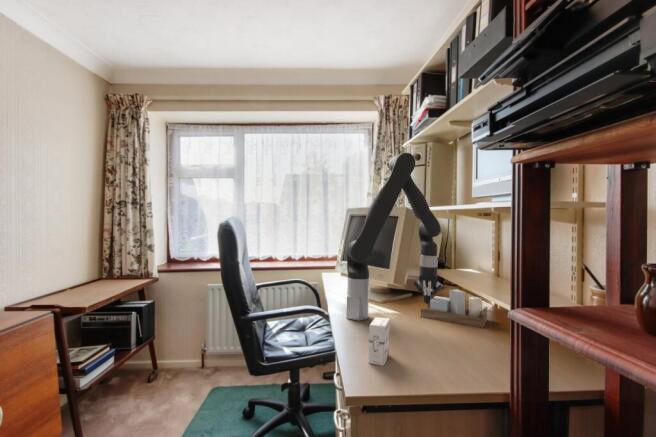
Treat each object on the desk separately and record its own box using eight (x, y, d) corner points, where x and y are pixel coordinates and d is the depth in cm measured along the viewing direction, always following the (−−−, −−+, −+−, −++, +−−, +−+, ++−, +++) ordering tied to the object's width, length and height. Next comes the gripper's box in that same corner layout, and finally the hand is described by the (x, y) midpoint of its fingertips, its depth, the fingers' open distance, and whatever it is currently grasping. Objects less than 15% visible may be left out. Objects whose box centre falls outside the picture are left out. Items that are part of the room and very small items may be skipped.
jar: (480, 324, 134) (481, 300, 134) (467, 322, 136) (468, 298, 136) (482, 321, 138) (482, 297, 138) (469, 319, 141) (469, 296, 141)
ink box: (374, 352, 106) (375, 316, 106) (389, 354, 105) (390, 318, 104) (367, 363, 98) (368, 324, 98) (384, 366, 96) (385, 326, 96)
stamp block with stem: (446, 319, 139) (446, 303, 139) (418, 314, 145) (418, 298, 145) (451, 313, 147) (451, 298, 147) (424, 309, 153) (424, 294, 153)
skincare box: (465, 321, 138) (466, 292, 138) (455, 321, 137) (456, 292, 137) (457, 316, 144) (458, 289, 144) (448, 316, 143) (449, 289, 143)
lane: (483, 329, 130) (484, 314, 130) (420, 317, 143) (421, 303, 143) (487, 321, 140) (487, 307, 140) (428, 310, 153) (428, 298, 153)
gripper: (411, 264, 148) (410, 303, 148) (441, 267, 141) (440, 308, 141) (416, 262, 154) (415, 299, 154) (445, 265, 147) (444, 304, 147)
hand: (427, 303), depth 148 cm, fingers closed
